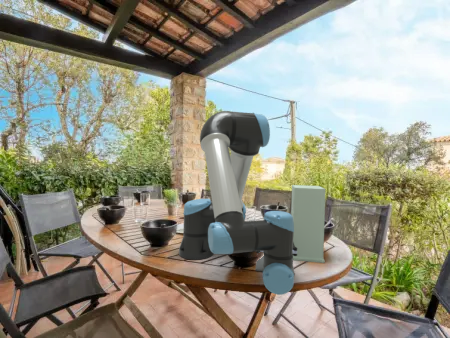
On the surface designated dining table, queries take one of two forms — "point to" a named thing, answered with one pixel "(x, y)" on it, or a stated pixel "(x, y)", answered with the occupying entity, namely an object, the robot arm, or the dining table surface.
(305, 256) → the stand
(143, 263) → the dining table surface
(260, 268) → the mat
